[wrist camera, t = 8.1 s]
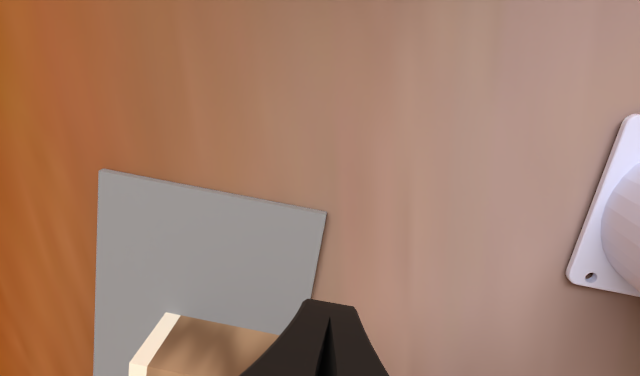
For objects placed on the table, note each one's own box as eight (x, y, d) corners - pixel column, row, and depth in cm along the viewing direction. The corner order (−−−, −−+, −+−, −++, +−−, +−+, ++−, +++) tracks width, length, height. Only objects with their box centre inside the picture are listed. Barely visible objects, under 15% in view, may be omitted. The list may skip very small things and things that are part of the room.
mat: (326, 211, 22) (326, 214, 22) (269, 514, 28) (267, 521, 28) (103, 168, 22) (98, 170, 22) (94, 477, 28) (90, 483, 28)
